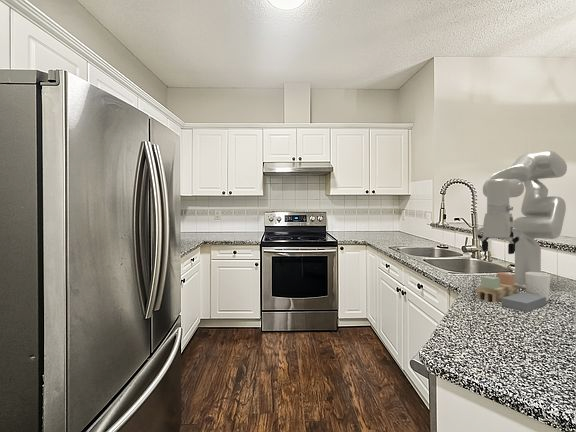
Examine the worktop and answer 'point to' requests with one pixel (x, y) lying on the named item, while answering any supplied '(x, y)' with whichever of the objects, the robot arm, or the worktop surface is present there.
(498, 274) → the salmon square box
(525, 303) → the dock
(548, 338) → the worktop surface
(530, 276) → the white cup
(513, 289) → the long beige board
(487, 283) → the pale green block
